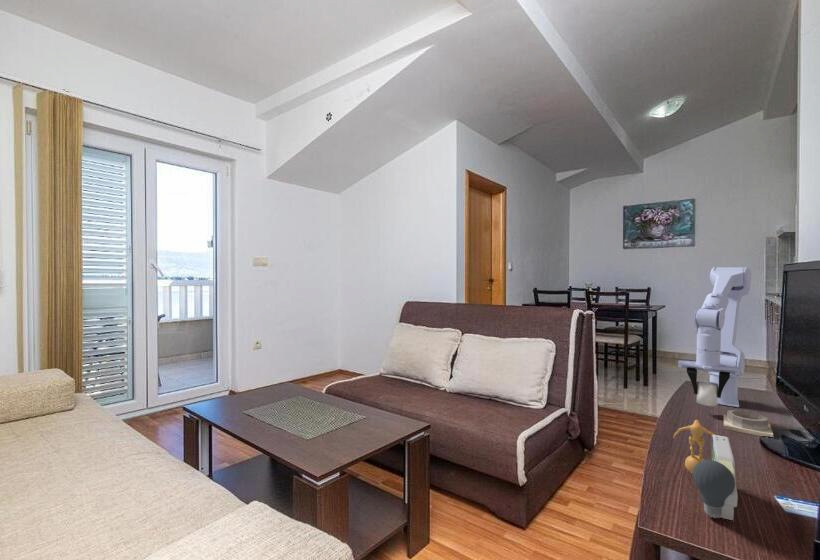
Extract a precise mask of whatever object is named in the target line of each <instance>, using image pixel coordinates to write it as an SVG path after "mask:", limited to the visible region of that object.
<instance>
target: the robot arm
mask: <svg viewBox="0 0 820 560" xmlns="http://www.w3.org/2000/svg"><path fill="white" fill-rule="evenodd" d="M709 279H710V283H711V286H712V292H710V293H709V294H707V295H706V296H705V299H704V301H703V303H702V306H701V307H700V308H699V309H696V310H695V312H694V316H693V317H694V318H693V322H694V327H695V329H694V332H695V334H696V355H695V359H696V360H695V361H693V360H691V361H690V360H678V362H677V363H678V365H677V366H678V369H686V373H687V375H688V378H689V380H690V382H691V385H692V388H693V394H694V395H697V381H698V379H697V378H698V371H706V372H707V374H709V382H714V383H717V384H718V405H722V406H729V407H735V408H739V407H740V403H739V398H738V391H739V390H738V386H739V385H738V384H739V382H738V380H739V377H742V376H743V375H744V373H745V368H746V364H745V363H746V360H745V359H746V358H745V356H746V355H745V353H744V352H743V351H742V350H741V349H740V348H739V347H737V346H736V338H737V330H738V322H739V313H740V305H741V301H742V299H743V297H744V296H747V295H749V292H750V289H751V283H752V282H751V281H752V272H751V268H749V267H748V266H745V267H744V266H743V267H742V266H741V267H738V266H737V267H736V266H735V267H734V266H733V267H732V266H728V267H726V266H725V267H721V266H720V267H718V266H713V267H712V269H710V273H709Z"/></svg>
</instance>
